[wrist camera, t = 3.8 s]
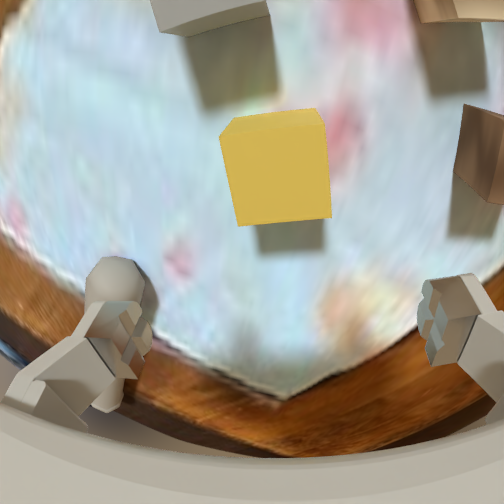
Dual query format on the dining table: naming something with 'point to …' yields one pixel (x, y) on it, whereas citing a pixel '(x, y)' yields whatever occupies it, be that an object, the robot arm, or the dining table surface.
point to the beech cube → (460, 10)
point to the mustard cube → (277, 167)
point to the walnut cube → (482, 153)
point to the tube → (113, 289)
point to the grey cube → (204, 14)
